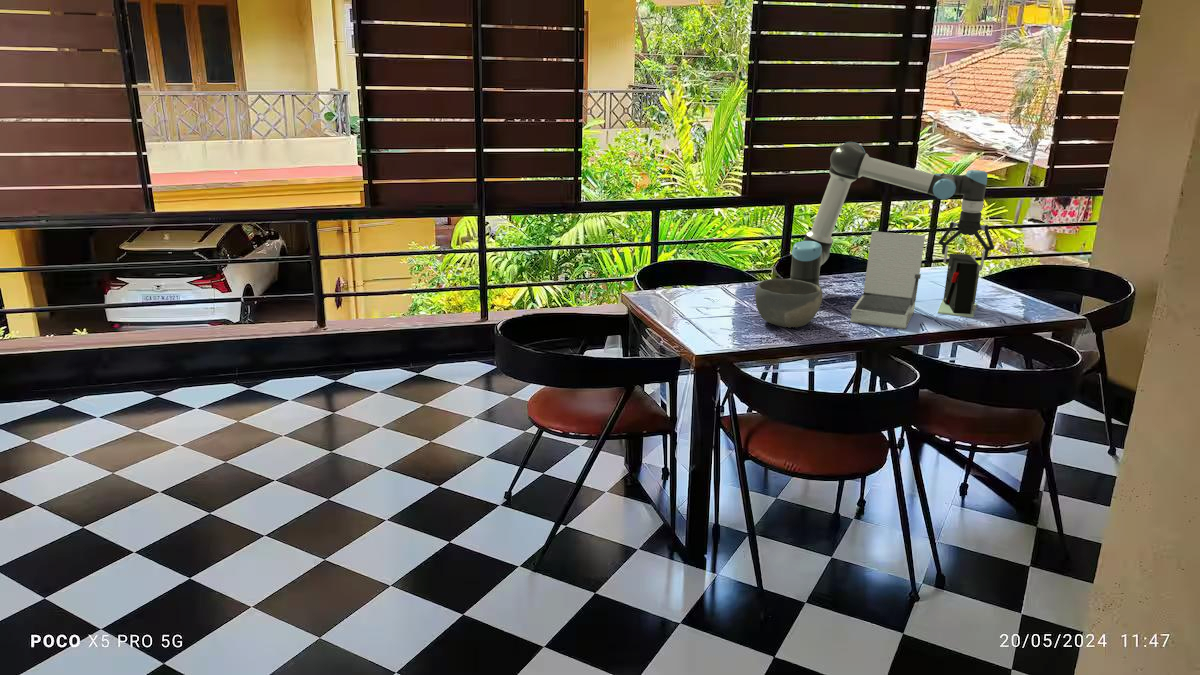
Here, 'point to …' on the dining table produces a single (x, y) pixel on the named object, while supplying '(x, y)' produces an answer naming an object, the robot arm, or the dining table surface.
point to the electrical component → (961, 283)
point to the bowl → (788, 301)
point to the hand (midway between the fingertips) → (962, 264)
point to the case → (890, 280)
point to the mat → (947, 310)
